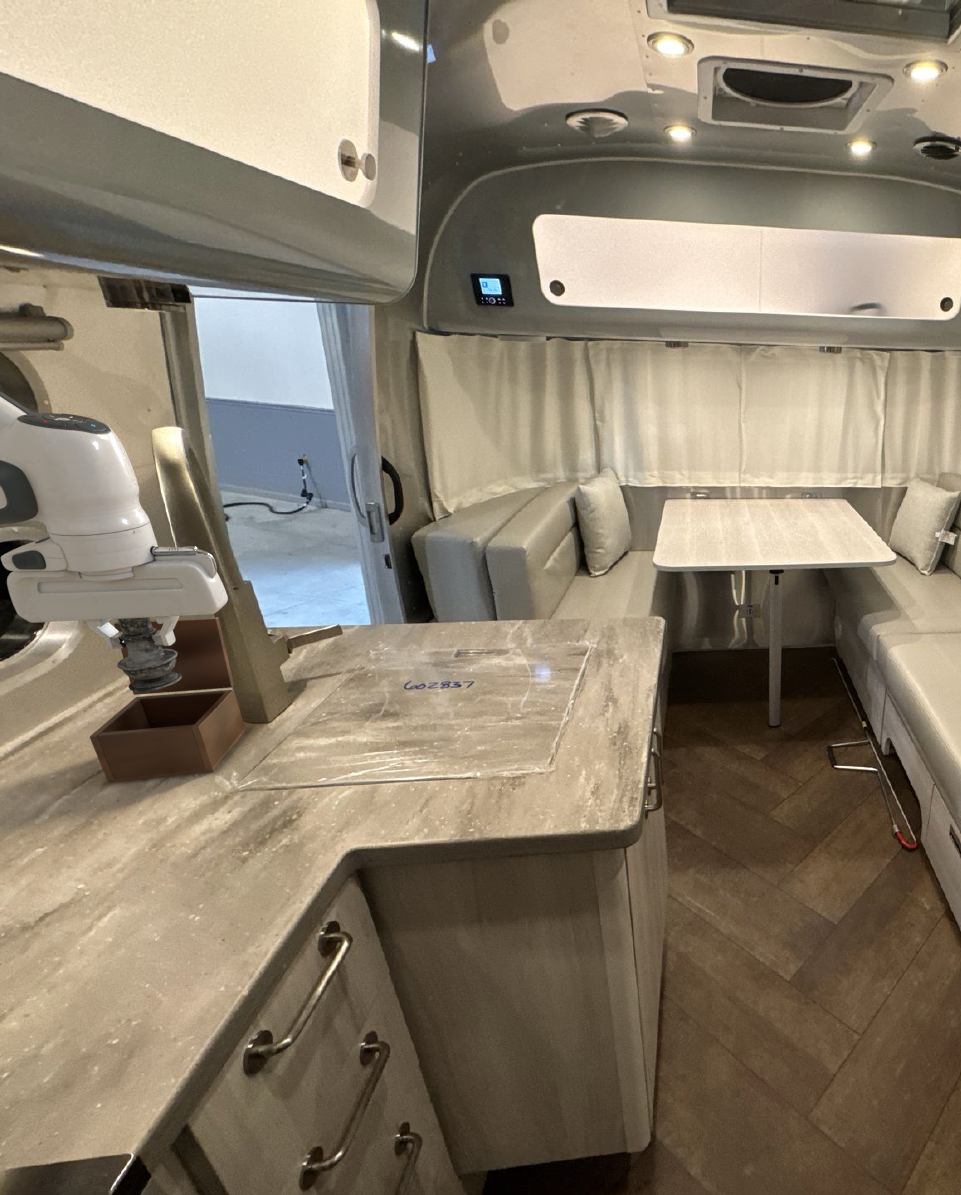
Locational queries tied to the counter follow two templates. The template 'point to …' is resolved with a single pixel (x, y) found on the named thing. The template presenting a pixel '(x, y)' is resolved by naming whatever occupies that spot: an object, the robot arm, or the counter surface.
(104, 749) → the bread box
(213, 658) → the lid
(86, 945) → the counter surface
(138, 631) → the grey tiered ornament
